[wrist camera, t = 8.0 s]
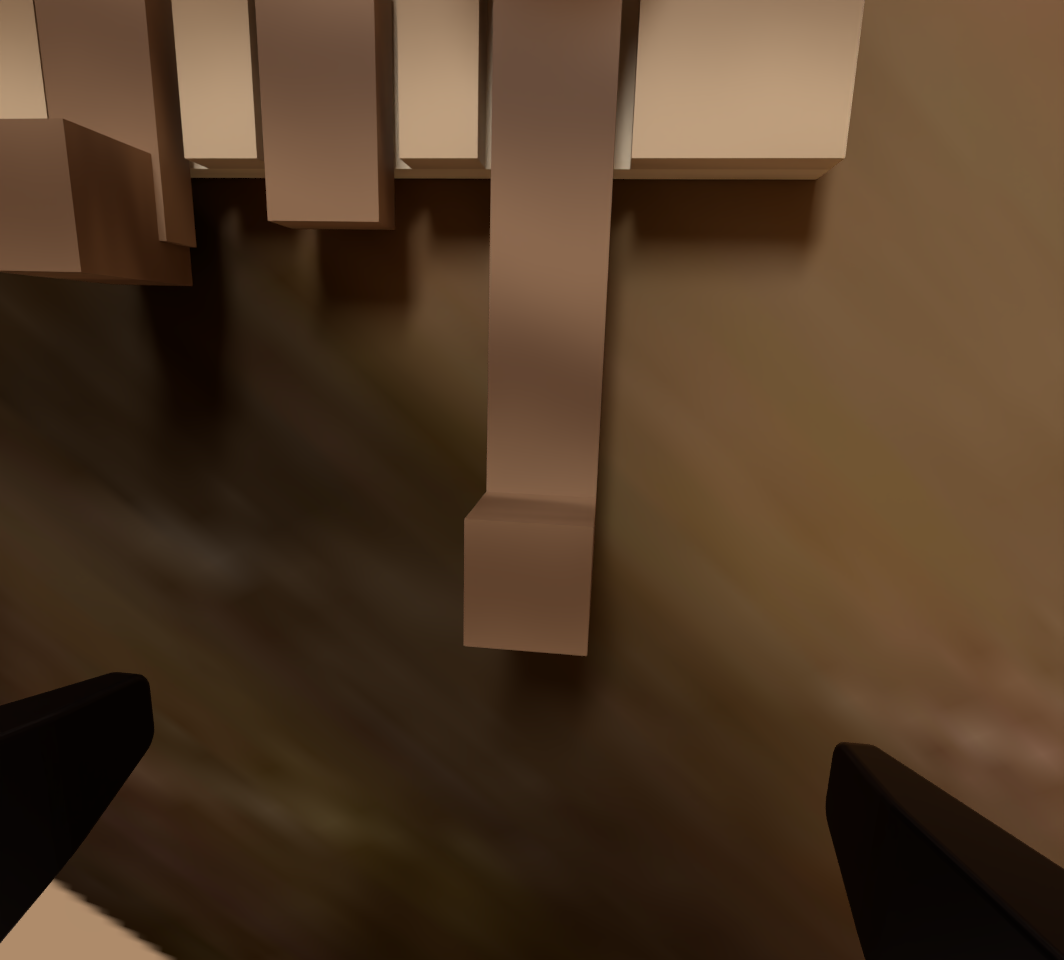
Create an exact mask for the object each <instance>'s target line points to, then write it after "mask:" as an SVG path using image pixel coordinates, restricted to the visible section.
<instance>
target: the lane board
mask: <svg viewBox="0 0 1064 960" xmlns="http://www.w3.org/2000/svg"><path fill="white" fill-rule="evenodd" d="M171 1H172V13H173V25H174V37H175V49H176V61H177V73H178V85H179V97H180V109H181V121H182V133H183V145H184V157H185V159H187V160H189V161H190V174H191V178H265V181H266V198H267V216H268V221H270V222H273V223H276V224H279V225H282V226H285V227H288V228H291V229H353V230H395V193H394V178H445V179H491V131H492V57H493V0H171ZM864 2H865V0H622V18H621V37H620V56H619V75H618V94H617V113H616V132H615V151H614V170H613V179H781V180H817V179H818V178H819V177H821V176H822V175H823V174H825V173H826V172H827V171H829V170H830V169H831V168H832V167H834V166H835V165H836V164H838V163H839V162H840V161H842V160H843V159H844V158H845V153H846V145H847V137H848V129H849V121H850V113H851V105H852V97H853V90H854V82H855V74H856V66H857V58H858V50H859V42H860V34H861V26H862V18H863V10H864ZM40 118H49V114H48V106H47V97H46V89H45V81H44V73H43V65H42V57H41V49H40V41H39V33H38V25H37V17H36V9H35V1H34V0H0V119H40Z"/></svg>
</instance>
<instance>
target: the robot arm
mask: <svg viewBox="0 0 1064 960" xmlns="http://www.w3.org/2000/svg"><path fill="white" fill-rule="evenodd" d="M153 735H154V721H153V712H152V702H151V693H150V686H149V682H148V680H147V679H146V678H145V677H144V676H143V675H140V674H131V673H121V672H113V673H109V674H105V675H102V676H99V677H95V678H92V679H89V680H85V681H82V682H79V683H75V684H72V685H68V686H65V687H62V688H58V689H55V690H52V691H48V692H45V693H42V694H38V695H35V696H32V697H28V698H25V699H21V700H18V701H15V702H11V703H8V704H5V705H1V706H0V943H1V942H2V941H3V939H4V938H5V937H6V936H7V934H8V933H9V932H10V931H11V930H12V929H13V927H14V926H15V925H16V924H17V923H18V921H19V920H20V919H21V918H22V916H23V915H24V914H25V913H26V912H27V910H28V909H29V908H30V907H31V906H32V904H33V903H34V902H35V901H36V900H37V898H38V897H39V896H40V895H41V894H42V892H43V891H44V890H45V889H46V888H47V886H48V885H49V884H50V883H51V882H52V880H53V879H54V878H55V877H56V876H57V874H58V873H59V872H60V871H61V869H62V868H63V867H64V866H65V864H66V863H67V862H68V861H69V859H70V858H71V857H72V856H73V854H74V853H75V852H76V850H77V849H78V848H79V846H80V845H81V844H82V842H83V841H84V839H85V838H86V837H87V835H88V834H89V833H90V831H91V830H92V828H93V827H94V825H95V824H96V823H97V821H98V820H99V818H100V817H101V815H102V814H103V813H104V811H105V810H106V808H107V807H108V805H109V804H110V803H111V801H112V800H113V798H114V797H115V796H116V794H117V793H118V791H119V790H120V788H121V787H122V786H123V784H124V783H125V781H126V780H127V778H128V777H129V776H130V774H131V773H132V771H133V770H134V768H135V767H136V766H137V764H138V763H139V761H140V760H141V759H142V757H143V756H144V754H145V753H146V751H147V750H148V748H149V746H150V744H151V742H152V739H153ZM826 817H827V822H828V826H829V830H830V834H831V837H832V841H833V845H834V848H835V852H836V856H837V859H838V863H839V867H840V871H841V874H842V878H843V882H844V885H845V889H846V893H847V896H848V900H849V904H850V907H851V911H852V915H853V919H854V922H855V926H856V930H857V933H858V937H859V940H860V943H861V947H862V950H863V954H864V957H865V959H866V960H1064V869H1063V868H1062V867H1060V866H1059V865H1057V864H1056V863H1054V862H1052V861H1051V860H1049V859H1048V858H1046V857H1045V856H1043V855H1042V854H1040V853H1039V852H1037V851H1036V850H1034V849H1032V848H1031V847H1029V846H1028V845H1026V844H1025V843H1023V842H1022V841H1020V840H1019V839H1017V838H1016V837H1014V836H1013V835H1011V834H1009V833H1008V832H1006V831H1005V830H1003V829H1002V828H1000V827H999V826H997V825H996V824H994V823H993V822H991V821H990V820H988V819H986V818H985V817H983V816H982V815H980V814H979V813H977V812H976V811H974V810H973V809H971V808H970V807H968V806H966V805H965V804H963V803H962V802H960V801H959V800H957V799H956V798H954V797H953V796H951V795H950V794H948V793H947V792H945V791H943V790H942V789H940V788H939V787H937V786H936V785H934V784H933V783H931V782H930V781H928V780H927V779H925V778H924V777H922V776H920V775H919V774H917V773H916V772H914V771H913V770H911V769H910V768H908V767H907V766H905V765H904V764H902V763H901V762H899V761H897V760H896V759H894V758H893V757H891V756H890V755H888V754H887V753H885V752H884V751H882V750H881V749H879V748H878V747H876V746H873V745H870V744H860V743H849V742H840V743H839V744H838V745H836V747H835V749H834V752H833V757H832V763H831V770H830V777H829V783H828V790H827V796H826Z"/></svg>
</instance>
